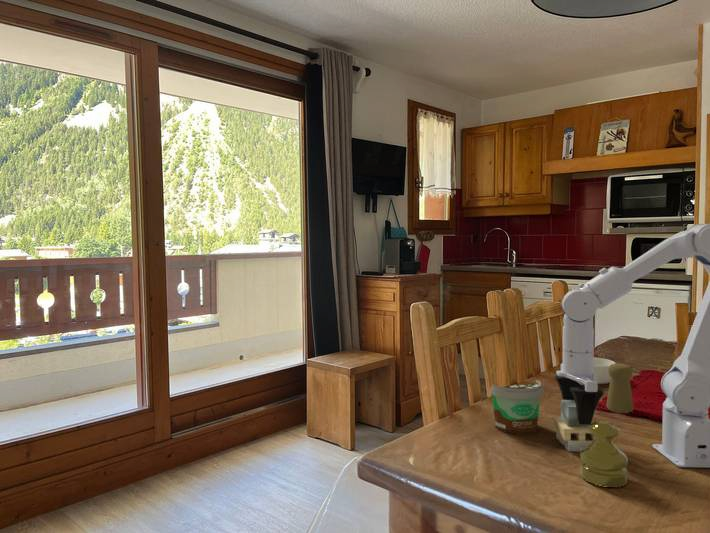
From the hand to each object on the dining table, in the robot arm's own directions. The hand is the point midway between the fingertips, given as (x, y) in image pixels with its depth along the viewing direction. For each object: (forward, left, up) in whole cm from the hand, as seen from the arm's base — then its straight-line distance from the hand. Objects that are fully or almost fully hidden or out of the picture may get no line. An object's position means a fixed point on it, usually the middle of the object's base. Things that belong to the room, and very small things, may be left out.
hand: (577, 417), depth 103 cm
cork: (+22, -18, -6) cm, 29 cm away
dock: (0, 0, -6) cm, 6 cm away
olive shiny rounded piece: (-15, +1, -6) cm, 16 cm away
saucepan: (+44, -20, -6) cm, 49 cm away
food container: (+7, +9, -6) cm, 13 cm away
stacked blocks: (0, 0, -3) cm, 4 cm away
